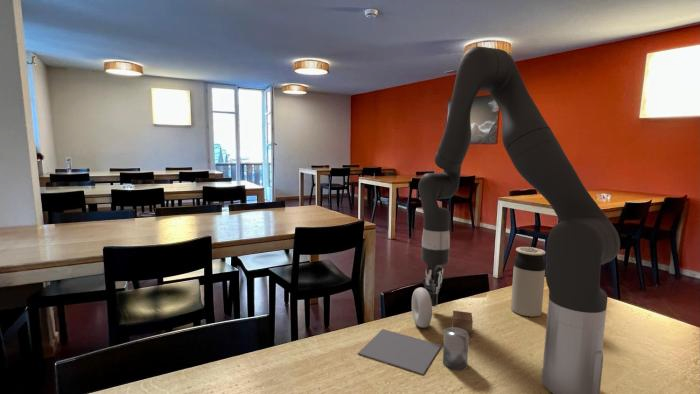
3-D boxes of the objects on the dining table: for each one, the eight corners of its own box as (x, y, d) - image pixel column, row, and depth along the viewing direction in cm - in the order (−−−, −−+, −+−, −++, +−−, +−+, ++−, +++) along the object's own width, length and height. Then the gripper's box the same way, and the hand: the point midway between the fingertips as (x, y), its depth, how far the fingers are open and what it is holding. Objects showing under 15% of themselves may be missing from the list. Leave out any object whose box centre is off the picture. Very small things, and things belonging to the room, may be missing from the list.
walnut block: (470, 329, 94) (471, 312, 94) (471, 338, 90) (472, 320, 89) (452, 327, 95) (453, 310, 95) (452, 335, 91) (453, 318, 90)
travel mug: (512, 315, 103) (517, 252, 100) (509, 304, 110) (513, 245, 108) (544, 319, 100) (549, 255, 98) (538, 307, 108) (543, 247, 106)
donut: (433, 334, 91) (435, 296, 90) (419, 335, 91) (421, 296, 89) (421, 316, 101) (423, 281, 100) (409, 317, 100) (410, 281, 99)
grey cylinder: (469, 361, 80) (471, 330, 79) (464, 373, 75) (465, 341, 74) (446, 354, 82) (447, 325, 81) (439, 366, 78) (441, 334, 77)
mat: (441, 346, 86) (441, 345, 86) (423, 375, 74) (423, 373, 74) (382, 330, 93) (382, 328, 93) (357, 354, 82) (357, 352, 82)
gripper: (442, 252, 94) (439, 317, 96) (455, 242, 106) (452, 299, 108) (414, 248, 98) (412, 310, 100) (429, 238, 109) (427, 294, 111)
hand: (432, 304), depth 104 cm, fingers closed
